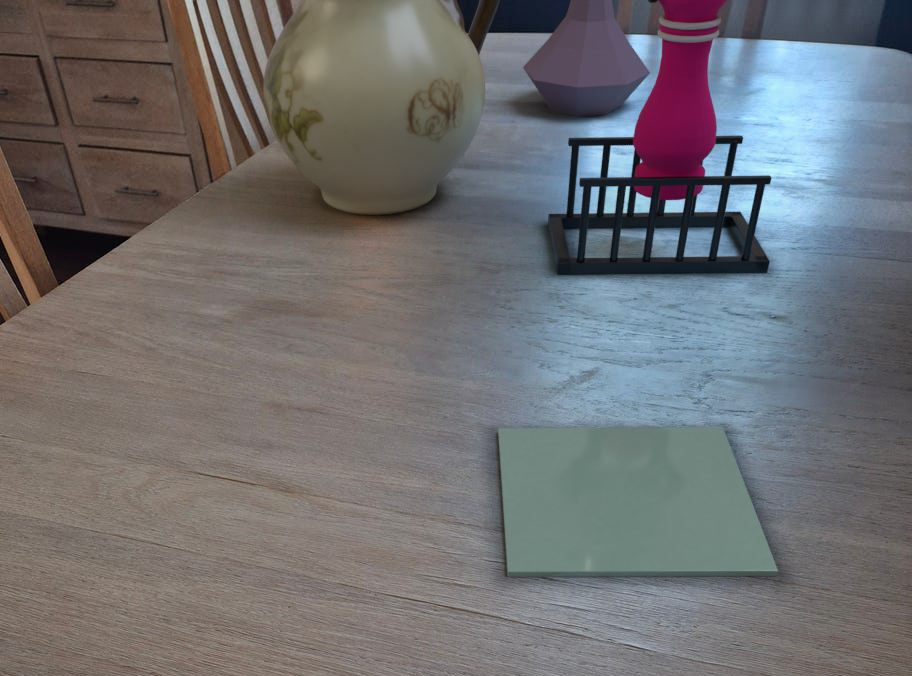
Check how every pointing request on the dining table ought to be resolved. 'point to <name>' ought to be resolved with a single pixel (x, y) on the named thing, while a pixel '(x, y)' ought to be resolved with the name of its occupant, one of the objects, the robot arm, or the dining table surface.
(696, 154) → the pepper mill
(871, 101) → the dining table surface
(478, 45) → the pitcher
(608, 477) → the tile
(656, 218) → the rack
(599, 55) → the mauve faceted vase
